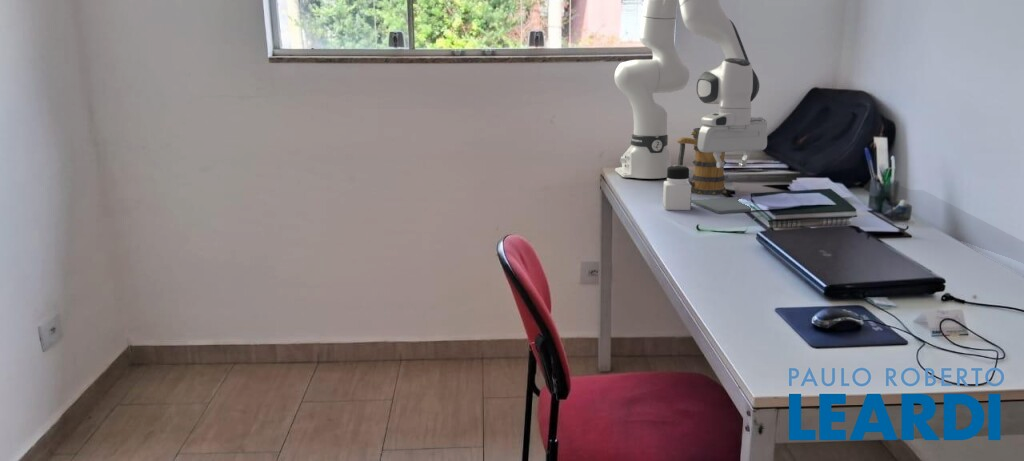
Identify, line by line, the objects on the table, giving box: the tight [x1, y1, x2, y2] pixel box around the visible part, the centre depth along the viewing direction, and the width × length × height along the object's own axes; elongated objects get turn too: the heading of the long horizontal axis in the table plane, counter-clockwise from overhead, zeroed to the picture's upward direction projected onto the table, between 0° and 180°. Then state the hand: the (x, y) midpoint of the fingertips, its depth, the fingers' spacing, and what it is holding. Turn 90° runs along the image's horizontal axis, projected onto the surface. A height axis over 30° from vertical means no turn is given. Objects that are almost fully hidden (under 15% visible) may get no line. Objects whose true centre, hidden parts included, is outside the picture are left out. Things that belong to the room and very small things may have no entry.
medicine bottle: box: [662, 164, 693, 211], centre depth 216 cm, size 7×7×12 cm
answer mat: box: [691, 196, 752, 215], centre depth 218 cm, size 16×16×1 cm
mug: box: [676, 127, 727, 196], centre depth 235 cm, size 13×17×20 cm
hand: (731, 167), depth 215 cm, fingers open, 6 cm apart
